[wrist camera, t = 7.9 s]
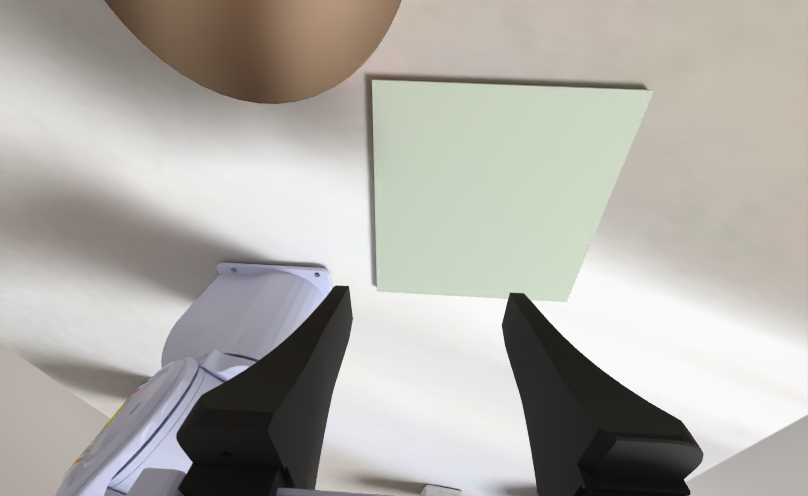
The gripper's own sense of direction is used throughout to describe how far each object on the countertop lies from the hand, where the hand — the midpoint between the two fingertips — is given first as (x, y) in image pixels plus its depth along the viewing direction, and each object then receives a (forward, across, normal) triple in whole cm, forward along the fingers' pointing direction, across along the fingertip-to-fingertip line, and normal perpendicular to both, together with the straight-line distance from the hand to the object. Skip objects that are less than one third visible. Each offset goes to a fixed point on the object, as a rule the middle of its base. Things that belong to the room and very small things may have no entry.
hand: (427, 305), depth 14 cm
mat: (+10, -4, 0) cm, 11 cm away
